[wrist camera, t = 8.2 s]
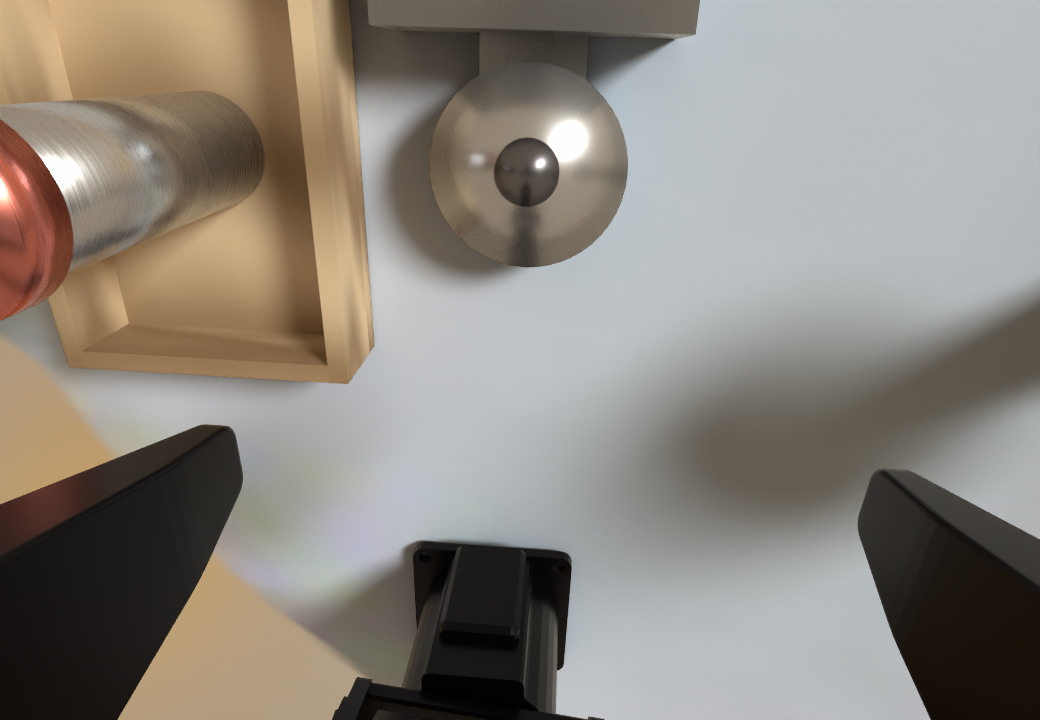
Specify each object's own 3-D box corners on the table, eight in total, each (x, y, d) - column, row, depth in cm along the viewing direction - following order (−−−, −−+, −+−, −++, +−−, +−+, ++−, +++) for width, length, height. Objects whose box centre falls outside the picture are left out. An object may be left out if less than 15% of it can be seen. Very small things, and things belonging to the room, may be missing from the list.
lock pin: (281, 217, 20) (52, 339, 11) (162, 211, 21) (-157, 327, 12) (264, 81, 19) (-22, 99, 10) (134, 77, 19) (-265, 90, 10)
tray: (374, 345, 23) (347, 383, 20) (127, 331, 23) (68, 367, 21) (341, -101, 17) (298, -131, 15) (16, -107, 18) (-84, -137, 15)
